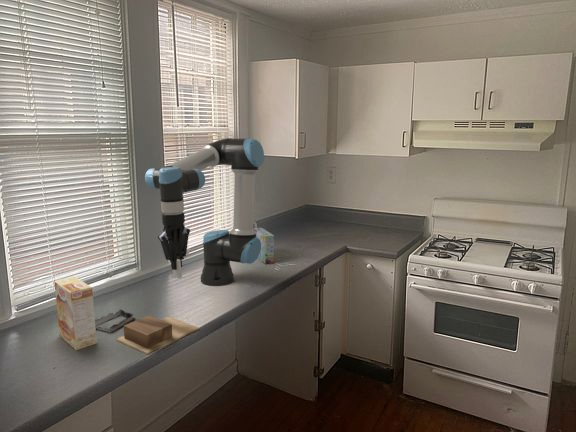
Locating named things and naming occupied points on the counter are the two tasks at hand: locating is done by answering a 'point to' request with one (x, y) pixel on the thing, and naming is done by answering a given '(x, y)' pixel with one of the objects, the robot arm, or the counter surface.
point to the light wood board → (178, 332)
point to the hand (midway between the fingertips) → (177, 277)
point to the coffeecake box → (75, 312)
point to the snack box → (265, 245)
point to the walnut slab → (148, 331)
